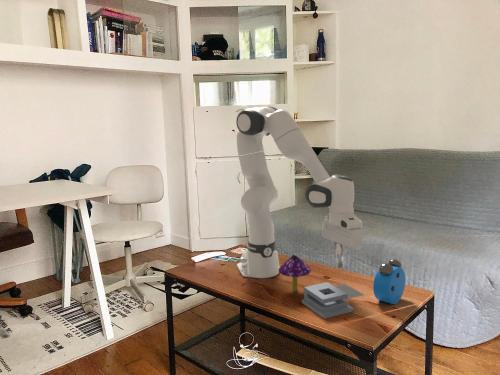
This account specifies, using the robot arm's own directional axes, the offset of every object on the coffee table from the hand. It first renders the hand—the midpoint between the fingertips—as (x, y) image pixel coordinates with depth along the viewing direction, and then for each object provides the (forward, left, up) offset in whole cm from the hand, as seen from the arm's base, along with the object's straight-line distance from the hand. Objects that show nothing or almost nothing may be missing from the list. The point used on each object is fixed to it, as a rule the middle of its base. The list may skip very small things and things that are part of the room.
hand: (340, 254), depth 151 cm
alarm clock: (+15, +11, -15) cm, 24 cm away
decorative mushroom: (-9, -15, -15) cm, 23 cm away
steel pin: (0, 0, -5) cm, 5 cm away
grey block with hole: (+8, -12, -15) cm, 21 cm away
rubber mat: (0, 0, -15) cm, 15 cm away
